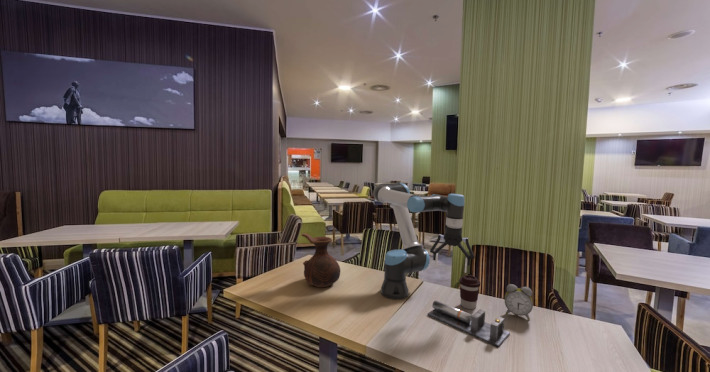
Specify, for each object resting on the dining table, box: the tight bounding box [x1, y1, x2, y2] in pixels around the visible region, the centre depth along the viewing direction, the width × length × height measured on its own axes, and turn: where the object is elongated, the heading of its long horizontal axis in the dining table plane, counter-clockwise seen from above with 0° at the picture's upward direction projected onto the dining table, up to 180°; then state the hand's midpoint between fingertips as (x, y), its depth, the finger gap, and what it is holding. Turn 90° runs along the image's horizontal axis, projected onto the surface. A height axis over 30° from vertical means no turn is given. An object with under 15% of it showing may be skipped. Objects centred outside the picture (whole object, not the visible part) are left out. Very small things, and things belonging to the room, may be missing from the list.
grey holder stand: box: [427, 308, 511, 348], centre depth 130 cm, size 32×13×8 cm, turn 44°
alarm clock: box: [504, 283, 534, 321], centre depth 138 cm, size 12×7×15 cm, turn 62°
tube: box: [431, 300, 473, 324], centre depth 135 cm, size 18×4×4 cm, turn 44°
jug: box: [301, 232, 341, 288], centre depth 170 cm, size 22×22×30 cm
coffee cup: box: [458, 274, 481, 310], centre depth 147 cm, size 10×10×15 cm
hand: (450, 269), depth 140 cm, fingers open, 13 cm apart
